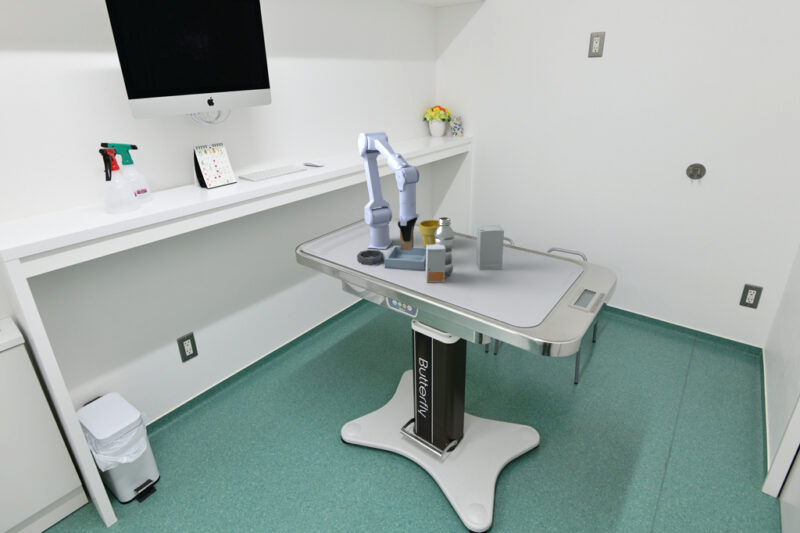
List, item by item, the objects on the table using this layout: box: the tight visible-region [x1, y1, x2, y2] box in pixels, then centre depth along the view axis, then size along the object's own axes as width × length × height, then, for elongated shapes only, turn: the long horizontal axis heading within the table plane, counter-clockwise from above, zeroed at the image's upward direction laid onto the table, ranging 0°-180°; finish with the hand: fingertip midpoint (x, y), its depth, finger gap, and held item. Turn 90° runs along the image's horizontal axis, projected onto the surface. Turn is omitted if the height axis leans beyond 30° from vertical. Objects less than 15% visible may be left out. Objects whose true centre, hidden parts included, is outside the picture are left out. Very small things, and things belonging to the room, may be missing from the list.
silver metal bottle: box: [434, 216, 455, 278], centre depth 151 cm, size 6×7×20 cm
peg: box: [399, 227, 415, 250], centre depth 162 cm, size 4×4×8 cm
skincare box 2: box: [476, 224, 505, 271], centre depth 158 cm, size 8×6×15 cm
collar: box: [356, 249, 385, 266], centre depth 167 cm, size 9×9×2 cm
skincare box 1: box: [425, 244, 446, 283], centre depth 149 cm, size 6×4×12 cm
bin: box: [384, 245, 426, 272], centre depth 165 cm, size 14×14×4 cm
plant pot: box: [418, 219, 439, 248], centre depth 179 cm, size 10×10×10 cm
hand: (407, 239), depth 162 cm, fingers closed on peg, 4 cm apart
